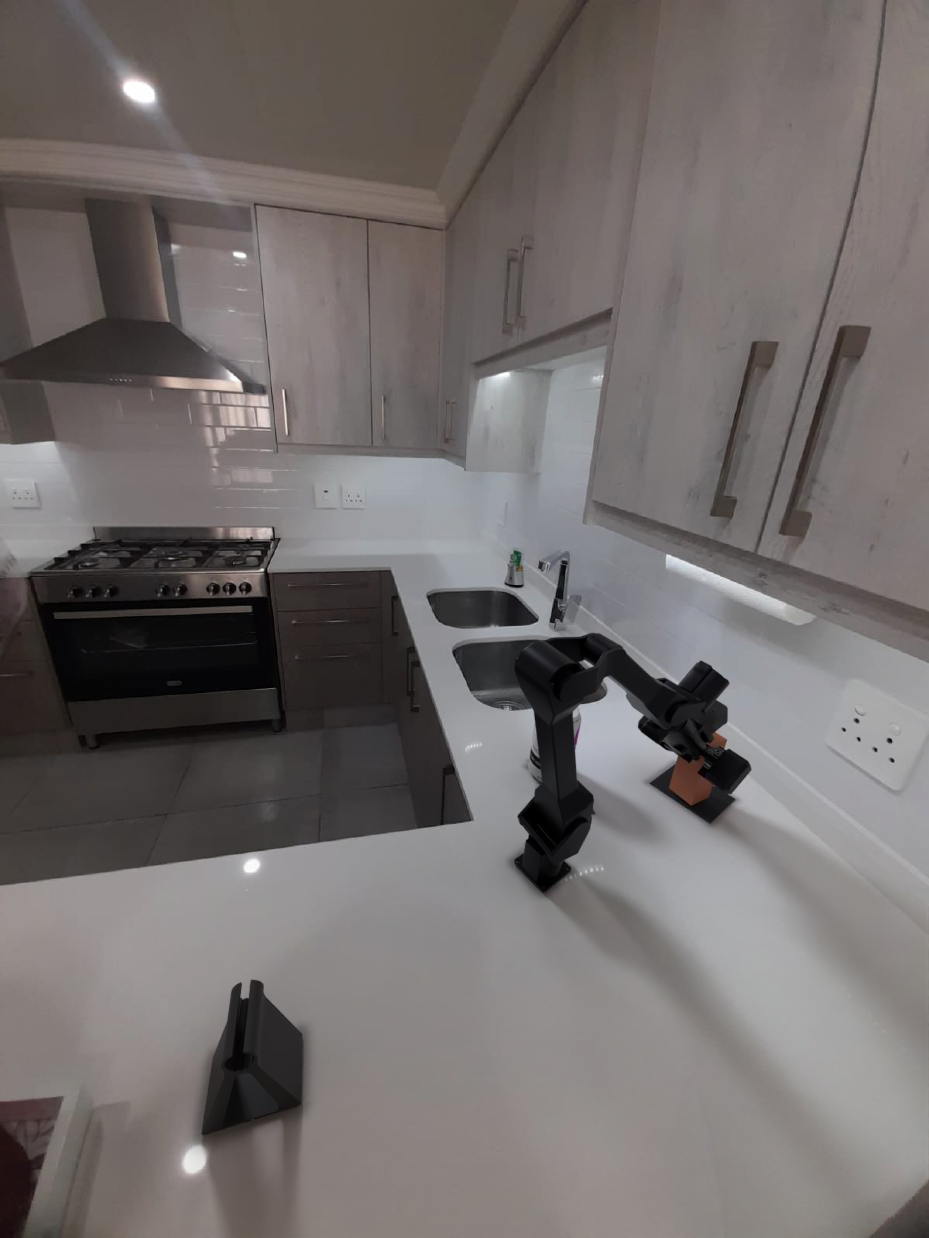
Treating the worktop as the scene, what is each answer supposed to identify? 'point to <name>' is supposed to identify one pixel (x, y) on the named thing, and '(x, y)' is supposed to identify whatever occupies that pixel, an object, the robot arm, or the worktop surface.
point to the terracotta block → (693, 776)
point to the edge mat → (704, 808)
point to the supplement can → (534, 753)
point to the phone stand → (253, 1063)
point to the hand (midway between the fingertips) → (702, 762)
